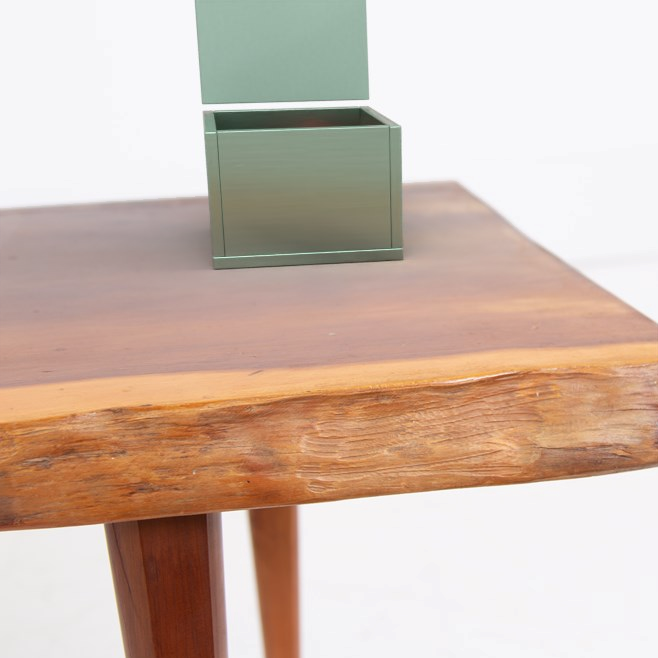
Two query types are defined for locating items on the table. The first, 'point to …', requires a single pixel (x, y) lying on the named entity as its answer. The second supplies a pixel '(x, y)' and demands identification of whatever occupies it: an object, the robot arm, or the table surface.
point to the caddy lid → (282, 50)
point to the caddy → (303, 186)
